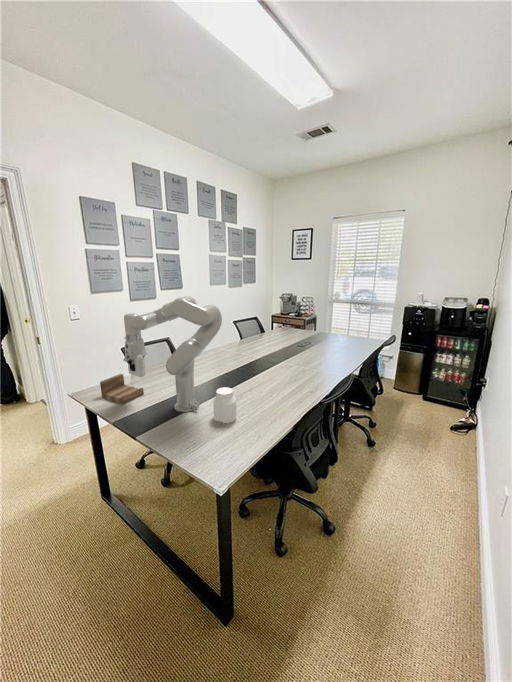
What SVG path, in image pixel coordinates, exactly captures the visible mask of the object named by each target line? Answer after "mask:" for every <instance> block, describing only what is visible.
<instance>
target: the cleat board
mask: <svg viewBox="0 0 512 682" xmlns="http://www.w3.org/2000/svg"><path fill="white" fill-rule="evenodd" d="M124 377H125V376H124V373H119V374H117V375H114V376H111V377H109V378H107V379H104V380H101V381H99V385H100V391H101V398H102V399H105V400H108V401H111V402H115V403H117V404H121V405H126V404H128V403H131V402H132V401H135V400H136V399H138V398H141V397H142V396H144V395H145V392H144V387H140V388H138V387H134V386H129V385H127V384H125V378H124Z"/></svg>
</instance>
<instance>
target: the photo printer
mask: <svg viewBox="0 0 512 682" xmlns="http://www.w3.org/2000/svg"><path fill="white" fill-rule="evenodd" d="M128 360H129V358H128ZM134 364H135V371H131V370H130V364H128V363H127V369H128V374H129V375H133V376H135V377H138V378H143V377H145V375H146V368H145V367H146V364H145V356H144V357H143V356H142V355H138V356H137V357H136V359H134Z"/></svg>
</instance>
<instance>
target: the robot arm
mask: <svg viewBox="0 0 512 682" xmlns="http://www.w3.org/2000/svg"><path fill="white" fill-rule="evenodd" d="M221 313H222V312H221V310H220V309H219V308H218V307H217V306H216V305H214V304H208V305H205V306H202V307H201V306H198V305H197V301H196V299H195V298H193V297H192V296H190V295H189V296H188V295H186V296H185V295H184V296H182V297H178V298H176V299H174V300H172V301H171V302H168V303H165V304H163V305H162V306H161V308H158V309H156V310H154V311H151V312H147V313H144V314H140V315H139V314H138V313H134V312H133V313H125V314H124V315H123V323H124V332H125V333H124V334H125V337H124V340H125V342H124V358H123V361H124V362H125V363H127V365H128V364H130V370H131V371H135V364H134V359H136V357H137V356H138V355H142V356H143V357H144V358H145V356H147V352H146V347H145V346H146V345H145V342H144V339H143V337H142V331H145V330H148V329H150V328H152V327H156V326H158V325H160V324H164V323H165V322H171V321H174V320H177V319H178V318H181V319H183V320H185V321H188V322H190V323H192V324H194V325H197V326H200V327H199V328H198V329H197V330H196V332H195V333H193V335H192V336H191V337H190V338H188V339H186V340H185V341H184V342H181V343H180V344H179V346H178V347H177V348H176V349H175V350H174V351H173V353H172V354H171V355H170V356H169V358H168V359H167V360H166V364H165V370H166V372H167V373H168V374H170V375H172V376H174V378H175V392H176V393H175V394H176V395H175V396H176V403H175V404H174V406H173V407H174V410H175V411H177V412H179V413H189V412H192V411H194V410H196V409H199V408H200V406H201V402H198V401H197V398H196V395H195V394H196V393H195V392H196V391H195V374H194V371H195V359H197V357H199V356H200V355H202V353H203V352H204V350H205V349H206V347H207V346H208V345H210V343H211V342H212V341H213V339H214V338H215V337H216V336H217V334H218V333H219V332H220V329H221V327H222V324H223V317H222V316H223V315H222V314H221ZM128 358H129V360H128Z"/></svg>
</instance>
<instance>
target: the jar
mask: <svg viewBox="0 0 512 682" xmlns="http://www.w3.org/2000/svg"><path fill="white" fill-rule="evenodd" d="M215 391H216V393H215V394H216V395H215V396H214V397H213V399H212V403H213V420H214V421H216V422H219V421H220V423H222V422H223V424H224V423H228V424H231V423H234V422H235V421H236V420H237V418H236V417H238V415H237V398H236V396H235V395H234V390H233V388H230V387H226V386H223V387H219V388H217V389H216V390H215ZM235 419H236V420H235ZM234 420H235V421H234ZM230 422H231V423H230Z"/></svg>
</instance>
